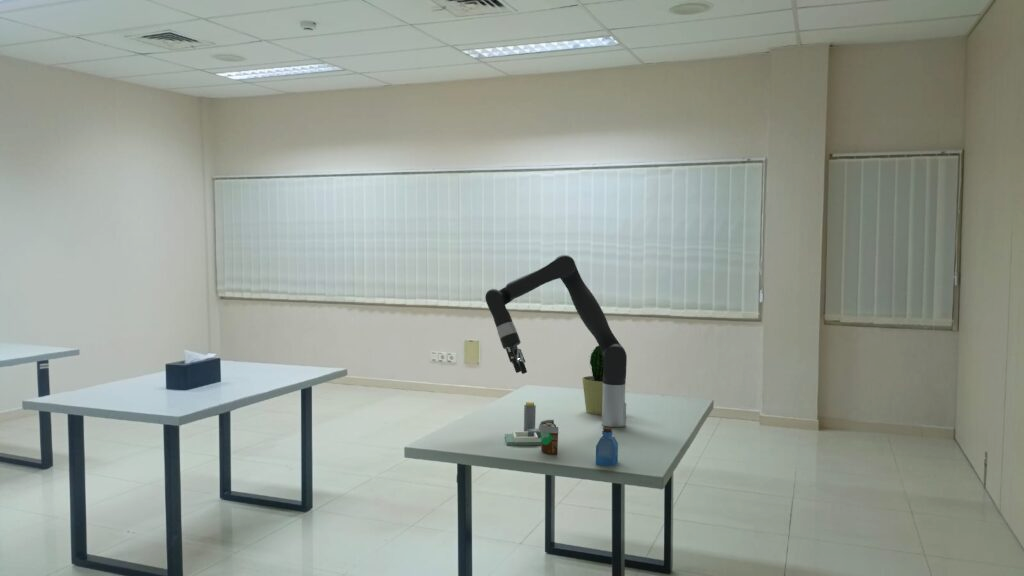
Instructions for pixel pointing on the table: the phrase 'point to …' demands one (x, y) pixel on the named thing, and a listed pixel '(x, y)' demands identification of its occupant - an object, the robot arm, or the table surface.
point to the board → (524, 438)
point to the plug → (529, 416)
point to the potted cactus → (594, 383)
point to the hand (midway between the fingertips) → (521, 372)
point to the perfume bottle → (607, 448)
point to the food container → (549, 437)
